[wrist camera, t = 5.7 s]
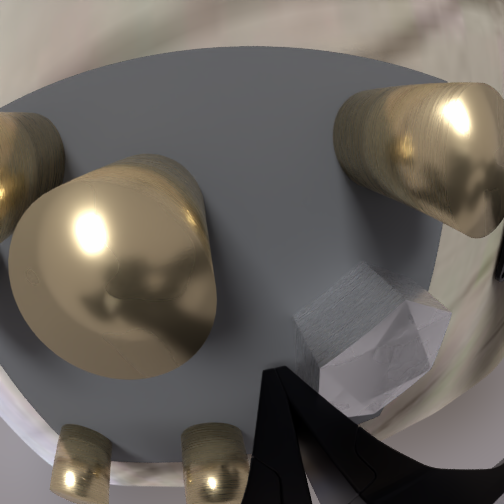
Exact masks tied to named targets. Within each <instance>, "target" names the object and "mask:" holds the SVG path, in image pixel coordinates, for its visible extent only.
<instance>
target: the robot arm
mask: <svg viewBox="0 0 504 504" xmlns="http://www.w3.org/2000/svg"><path fill="white" fill-rule="evenodd" d="M495 279H496V280H498V281H499V282H502V281H504V246H503V250H502V253H501V257H500V261H499V264H498V268H497V271H496V275H495ZM305 472H306V474H307V477H308V479H309V481H310V483H311V485H312V487H313V489H314V491H315V494H316V496H317V498H318V500H319V502H320V504H504V459H503V460H502V461H500V462H499V463H498V464H497V465H496V466H494V467H493V468H492V469H480V470H479V469H475V470H474V469H472V470H471V469H468V470H467V469H466V470H465V469H440V468H434V467H429V466H427V465H424V464H422V463H420V462H418V461H416V460H414V459H412V458H410V457H408V456H406V455H404V454H402V453H400V452H398V451H396V450H394V449H392V448H390V447H389V446H387V445H386V444H384V443H382V442H381V441H379V440H378V439H376V438H375V437H373V436H372V435H371V434H369V433H368V432H366V431H365V430H364V429H363V428H361V427H358V425H357V424H356V423H355V422H353V421H352V420H351V419H350V418H348V417H347V416H346V415H345V414H343V413H342V412H341V411H340V410H338V409H337V408H336V407H335V406H333V405H332V404H331V403H330V402H328V401H327V400H326V399H325V398H324V397H322V396H321V395H320V394H319V393H318V392H316V391H315V390H314V389H313V388H312V387H310V386H309V385H308V384H307V383H306V382H305V381H303V380H302V379H301V378H300V377H299V376H298V375H296V374H295V373H294V372H293V371H292V370H291V369H289V368H288V367H287V366H279V367H275V368H270V369H265V370H263V371H262V378H261V386H260V395H259V403H258V411H257V419H256V427H255V435H254V442H253V450H252V458H251V463H250V470H249V475H248V481H247V485H246V488H245V492H244V495H243V498H242V501H241V504H312V501H311V496H310V492H309V487H308V483H307V478H306V474H305Z"/></svg>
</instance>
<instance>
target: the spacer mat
mask: <svg viewBox="0 0 504 504" xmlns="http://www.w3.org/2000/svg"><path fill="white" fill-rule="evenodd" d="M429 83H448V82H447V81H444V80H442V79H439V78H436V77H433V76H430V75H428V74H425V73H421V72H418V71H415V70H412V69H409V68H405V67H402V66H398V65H394V64H390V63H386V62H382V61H378V60H374V59H369V58H364V57H359V56H354V55H348V54H342V53H336V52H329V51H321V50H312V49H302V48H289V47H266V46H239V47H216V48H203V49H193V50H184V51H176V52H169V53H163V54H157V55H151V56H146V57H141V58H136V59H131V60H127V61H123V62H119V63H115V64H111V65H107V66H103V67H100V68H96V69H93V70H90V71H87V72H84V73H80V74H77V75H75V76H72V77H69V78H66V79H63V80H61V81H58V82H55V83H53V84H50V85H48V86H46V87H43V88H41V89H39V90H36V91H34V92H32V93H30V94H27V95H25V96H23V97H21V98H19V99H17V100H15V101H13V102H11V103H9V104H7V105H5V106H3V107H2V108H0V112H27V113H37V114H40V115H43V116H44V117H46V118H48V119H49V120H50V121H51V122H52V123H53V124H54V126H55V127H56V129H57V130H58V132H59V134H60V137H61V139H62V142H63V146H64V152H65V172H64V178H63V183H62V184H64V183H67V182H69V181H71V180H73V179H75V178H78V177H80V176H82V175H84V174H87V173H89V172H91V171H94V170H96V169H99V168H101V167H104V166H106V165H109V164H111V163H114V162H116V161H119V160H122V159H124V158H127V157H130V156H133V155H137V154H158V155H162V156H165V157H168V158H171V159H173V160H175V161H176V162H178V163H180V164H181V165H182V166H184V167H185V168H186V169H187V170H188V171H189V172H190V173H191V174H192V176H193V177H194V179H195V180H196V182H197V183H198V185H199V187H200V190H201V193H202V196H203V200H204V206H205V214H206V222H207V229H208V236H209V244H210V251H211V257H212V264H213V271H214V277H215V284H216V294H217V306H216V315H215V319H214V323H213V326H212V329H211V331H210V334H209V336H208V338H207V339H206V341H205V342H204V344H203V346H202V347H201V348H200V349H199V350H198V352H197V353H196V354H195V355H194V356H193V357H192V358H190V359H189V360H188V361H187V362H186V363H184V364H183V365H181V366H180V367H178V368H176V369H174V370H172V371H170V372H168V373H165V374H162V375H159V376H155V377H151V378H146V379H136V380H123V379H113V378H108V377H103V376H99V375H96V374H93V373H89V372H87V371H85V370H82V369H80V368H78V367H76V366H74V365H72V364H70V363H68V362H67V361H65V360H64V359H62V358H61V357H59V356H58V355H56V354H55V353H54V352H53V351H51V350H50V349H49V348H48V347H47V346H46V345H45V344H44V343H43V342H42V341H41V340H40V339H39V338H38V337H37V336H36V335H35V333H34V332H33V331H32V330H31V328H30V327H29V325H28V324H27V322H26V321H25V319H24V318H23V316H22V314H21V312H20V310H19V308H18V306H17V303H16V301H15V298H14V295H13V292H12V288H11V284H10V278H9V267H8V259H9V249H10V244H11V240H12V236H13V234H12V235H11V236H9V237H8V238H7V239H5V240H4V241H3V242H1V243H0V364H1V366H2V367H3V369H4V370H5V372H6V373H7V374H8V376H9V377H10V379H11V380H12V381H13V383H14V384H15V385H16V387H17V388H18V389H19V391H20V392H21V393H22V394H23V396H24V397H25V398H26V399H27V401H28V402H29V403H30V404H31V405H32V407H33V408H34V409H35V410H36V411H37V412H38V414H39V415H40V416H41V417H42V418H43V419H44V420H45V421H46V422H47V423H48V424H49V426H50V427H51V428H52V429H53V430H54V431H55V432H56V433H57V434H58V435H60V431H61V427H62V426H63V425H65V424H75V425H80V426H84V427H87V428H90V429H92V430H95V431H97V432H99V433H101V434H102V435H104V436H105V437H107V438H108V439H109V440H110V441H111V443H112V455H111V461H120V462H147V463H159V462H182V448H181V434H182V432H183V431H184V430H185V429H187V428H189V427H191V426H194V425H197V424H202V423H214V422H215V423H226V424H231V425H234V426H236V427H238V428H239V429H240V430H241V432H242V436H243V440H244V445H245V449H246V454H252V450H253V442H254V435H255V427H256V419H257V411H258V403H259V395H260V386H261V378H262V371H263V370H265V369H270V368H275V367H279V366H287V367H288V368H289V369H291V370H292V371H293V372H294V373H295V374H296V375H297V372H296V358H295V342H294V327H293V316H294V315H295V314H297V313H298V312H299V311H301V310H302V309H303V308H305V307H306V306H307V305H308V304H310V303H311V302H312V301H314V300H315V299H316V298H317V297H319V296H320V295H321V294H323V293H324V292H325V291H326V290H328V289H329V288H330V287H331V286H333V285H334V284H335V283H336V282H337V281H339V280H340V279H341V278H342V277H344V276H345V275H346V274H347V273H348V272H350V271H351V270H352V269H353V268H354V267H356V266H357V265H358V264H359V263H360V262H361V261H364V262H367V263H370V264H372V265H375V266H378V267H381V268H383V269H386V270H389V271H391V272H394V273H397V274H399V275H402V276H405V277H407V278H410V279H413V280H414V281H415V282H416V283H417V284H419V285H420V286H421V287H422V288H424V289H425V290H426V291H427V292H428V290H429V286H430V282H431V278H432V274H433V270H434V266H435V261H436V257H437V252H438V247H439V242H440V236H441V231H442V224H443V223H442V222H440V221H438V220H436V219H434V218H432V217H430V216H428V215H426V214H424V213H422V212H420V211H418V210H416V209H414V208H411V207H409V206H407V205H405V204H403V203H400V202H398V201H396V200H394V199H391V198H389V197H387V196H384V195H382V194H379V193H377V192H375V191H372V190H370V189H367V188H365V187H362V186H360V185H358V184H356V183H355V182H354V181H352V180H351V179H350V178H349V177H348V176H347V175H346V174H345V172H344V171H343V170H342V168H341V166H340V165H339V162H338V160H337V158H336V154H335V151H334V146H333V126H334V122H335V118H336V115H337V113H338V111H339V109H340V107H341V106H342V104H343V103H344V102H345V101H346V100H347V99H348V98H349V97H350V96H352V95H353V94H355V93H357V92H360V91H364V90H370V89H377V88H385V87H393V86H403V85H414V84H429ZM382 409H383V408H381V409H380V410H379V411H377V412H376V413H374V414H369V415H361V416H353V417H348V418H350V419H351V420H352V421H353V422H355V423H356V424H360V423H363V422H365V421H368V420H370V419H373V418H375V417H377V416H379V415H380V413H381V411H382Z"/></svg>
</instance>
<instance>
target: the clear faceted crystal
mask: <svg viewBox="0 0 504 504" xmlns="http://www.w3.org/2000/svg"><path fill="white" fill-rule="evenodd" d="M451 315H452V312H451V311H449V310H448V309H447V308H446V307H445V306H444V305H443V304H441V303H440V302H439V301H438V300H437V299H436V298H434V297H433V296H432V295H431V294H430V293H428V292H427V291H426V290H425V289H424V288H422V287H421V286H420V285H419V284H417V283H416V282H415V281H414V280H413V279H410V278H407V277H405V276H402V275H399V274H397V273H394V272H391V271H389V270H386V269H383V268H381V267H378V266H375V265H372V264H370V263H367V262H364V261H361V262H360V263H359V264H358V265H357V266H356V267H354V268H353V269H352V270H351V271H350V272H348V273H347V274H346V275H345V276H344V277H342V278H341V279H340V280H339V281H337V282H336V283H335V284H334V285H333V286H331V287H330V288H329V289H328V290H326V291H325V292H324V293H323V294H321V295H320V296H319V297H317V298H316V299H315V300H314V301H312V302H311V303H310V304H308V305H307V306H306V307H305V308H303V309H302V310H301V311H299V312H298V313H297V314H295V315H294V316H293V327H294V342H295V358H296V372H297V375H298V376H299V377H300V378H301V379H302V380H303V381H305V382H306V383H307V384H308V385H309V386H310V387H312V388H313V389H314V390H315V391H316V392H318V393H319V394H320V395H321V396H322V397H324V398H325V399H326V400H327V401H328V402H330V403H331V404H332V405H333V406H335V407H336V408H337V409H338V410H340V411H341V412H342V413H343V414H345V415H346V416H347V417H353V416H361V415H369V414H374V413H376V412H377V411H379V410H380V409H381V408H383V407H384V406H386V405H387V404H388V403H390V402H391V401H392V400H394V399H395V398H396V397H398V396H399V395H400V394H402V393H403V392H404V391H405V390H407V389H408V388H409V387H410V386H412V385H413V384H414V383H415V382H416V381H418V380H419V379H420V378H421V377H422V376H424V375H425V374H426V373H427V372H428V371H429V370H430V369H431V368H432V366H433V363H434V361H435V359H436V356H437V354H438V351H439V349H440V346H441V343H442V341H443V338H444V335H445V333H446V330H447V327H448V324H449V321H450V318H451Z"/></svg>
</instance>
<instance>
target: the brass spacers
mask: <svg viewBox="0 0 504 504" xmlns="http://www.w3.org/2000/svg"><path fill="white" fill-rule="evenodd" d="M333 146H334V151H335V154H336V158H337V160H338V162H339V165H340V166H341V168H342V170H343V171H344V172H345V174H346V175H347V176H348V177H349V178H350V179H351V180H352V181H354V182H355V183H356V184H358V185H360V186H362V187H365V188H367V189H370V190H372V191H375V192H377V193H379V194H382V195H384V196H387V197H389V198H391V199H394V200H396V201H398V202H400V203H403V204H405V205H407V206H409V207H411V208H414V209H416V210H418V211H420V212H422V213H424V214H426V215H428V216H430V217H432V218H434V219H436V220H438V221H440V222H442V223H444V224H446V225H448V226H450V227H452V228H454V229H456V230H458V231H460V232H462V233H463V234H465V235H467V236H469V237H471V238H482V237H485V236H487V235H488V234H490V233H491V232H492V231H493V230H495V228H496V227H497V226H498V225H499V224H500V222H501V221H502V220H503V218H504V99H503V98H502V97H501V95H500V94H499V93H498V92H497V91H496V90H495V89H494V88H492V87H491V86H489V85H487V84H485V83H429V84H414V85H403V86H393V87H385V88H377V89H370V90H364V91H360V92H357V93H355V94H353V95H352V96H350V97H349V98H348V99H347V100H346V101H345V102H344V103H343V104H342V106H341V107H340V109H339V111H338V113H337V115H336V118H335V122H334V126H333ZM64 172H65V152H64V146H63V142H62V139H61V137H60V134H59V132H58V130H57V129H56V127H55V126H54V124H53V123H52V122H51V121H50V120H49V119H48V118H46V117H44V116H43V115H40V114H37V113H27V112H0V243H1V242H3V241H4V240H5V239H7V238H8V237H9V236H11V235H12V234H13V236H12V240H11V244H10V249H9V259H8V267H9V278H10V284H11V288H12V292H13V295H14V298H15V301H16V303H17V306H18V308H19V310H20V312H21V314H22V316H23V318H24V319H25V321H26V322H27V324H28V325H29V327H30V328H31V330H32V331H33V332H34V333H35V335H36V336H37V337H38V338H39V339H40V340H41V341H42V342H43V343H44V344H45V345H46V346H47V347H48V348H49V349H50V350H51V351H53V352H54V353H55V354H56V355H58V356H59V357H61V358H62V359H64V360H65V361H67V362H68V363H70V364H72V365H74V366H76V367H78V368H80V369H82V370H85V371H87V372H89V373H93V374H96V375H99V376H103V377H108V378H113V379H123V380H136V379H146V378H151V377H155V376H159V375H162V374H165V373H168V372H170V371H172V370H174V369H176V368H178V367H180V366H181V365H183V364H184V363H186V362H187V361H188V360H189V359H190V358H192V357H193V356H194V355H195V354H196V353H197V352H198V350H199V349H200V348H201V347H202V346H203V344H204V342H205V341H206V339H207V338H208V336H209V334H210V331H211V329H212V326H213V323H214V319H215V315H216V306H217V294H216V284H215V277H214V271H213V264H212V257H211V251H210V244H209V236H208V229H207V222H206V214H205V206H204V200H203V196H202V193H201V190H200V187H199V185H198V183H197V182H196V180H195V179H194V177H193V176H192V174H191V173H190V172H189V171H188V170H187V169H186V168H185V167H184V166H182V165H181V164H180V163H178V162H176V161H175V160H173V159H171V158H168V157H165V156H162V155H158V154H137V155H133V156H130V157H127V158H124V159H122V160H119V161H116V162H114V163H111V164H109V165H106V166H104V167H101V168H99V169H96V170H94V171H91V172H89V173H87V174H84V175H82V176H80V177H78V178H75V179H73V180H71V181H69V182H67V183H64V184H62V183H63V178H64ZM181 448H182V463H183V475H184V485H185V494H186V504H241V501H242V498H243V495H244V492H245V488H246V485H247V481H248V475H249V470H250V466H249V462H248V458H247V454H246V449H245V445H244V440H243V436H242V432H241V430H240V429H239V428H238V427H236V426H234V425H231V424H226V423H215V422H214V423H202V424H197V425H194V426H191V427H189V428H187V429H185V430H184V431H183V432H182V434H181ZM111 455H112V443H111V441H110V440H109V439H108V438H107V437H105V436H104V435H102V434H101V433H99V432H97V431H95V430H92V429H90V428H87V427H84V426H80V425H75V424H65V425H63V426H62V427H61V431H60V435H59V440H58V444H57V449H56V454H55V459H54V465H53V470H52V477H51V484H50V490H51V491H52V492H53V493H55V494H56V495H58V496H60V497H62V498H64V499H66V500H69V501H71V502H74V503H77V504H109V483H110V467H111Z"/></svg>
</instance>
